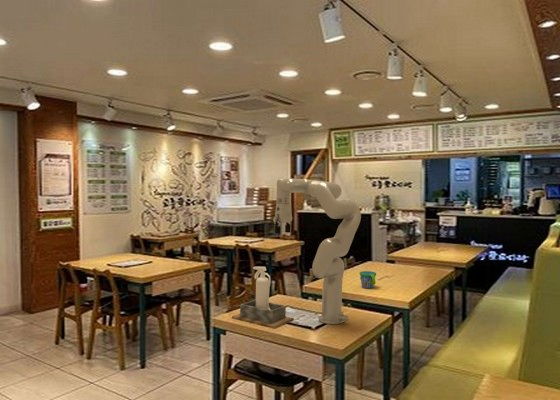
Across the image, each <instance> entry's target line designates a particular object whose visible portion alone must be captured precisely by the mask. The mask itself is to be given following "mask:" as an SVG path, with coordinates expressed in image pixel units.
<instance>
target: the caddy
mask: <svg viewBox="0 0 560 400" xmlns="http://www.w3.org/2000/svg"><path fill="white" fill-rule="evenodd" d="M239 306H240V307H239V310H240V311H239V313H238V314H234V315H232V316H231V319H233V320H237V321H242V322H246V323H251V324H255V325H258V326H263V327H266V328H271V329H278V328H279V327H282V326H284V325H286V324H289V323H291V322H292V321H295V319H294V318H295V317H289V316H286V315H287V314H286V313H287V311H286V310H287V306H286V305H283V304H280V303H274V302H269V308H270V309H271V310H267V309H262V308H257V307H256V299H253V300H250V301H247V302H244V303H241V304H239Z"/></svg>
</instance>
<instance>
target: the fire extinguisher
mask: <svg viewBox="0 0 560 400" xmlns="http://www.w3.org/2000/svg"><path fill="white" fill-rule="evenodd" d="M266 267H267V266H253V267H252V269H253V270H256V272H255V273H254V279H255V300H256V307H257V308H262V309H267V310H271V309H270V308H269V303H270V289H271V288H270V287H271V283H272V282H271V275H269V273H268V272H266V271H267V268H266ZM266 276H267V277H266Z"/></svg>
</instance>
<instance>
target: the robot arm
mask: <svg viewBox="0 0 560 400" xmlns="http://www.w3.org/2000/svg"><path fill="white" fill-rule="evenodd" d="M291 193H292V194H293V193H300V194H301V193H302V194H307V195H310V197H313V198H316V199H317V200H316V201H317V202H318V204H319V205H320V206H321V208H322V209H323V211H324V212H325V213H326V216H328V217H329V218H330V219H333V220H334V219H335V220H337V219H343V220H342V222H340V224H339V225H338V227H337V229H336V233H335V235H334V236H333V237H328V238H325V239H324V240H322V242H320V243H319V246H318V248H317V251H316V254H315V257H314V259H313V261H312V267H311V270H312V273H313V275H314V276H315V277H316V278H317V279H323V280H322V290H321V291H322V293H321V298H322V300H321V315H319V317H318V321H319V322H320V323H323V324H328V325H340V324H344V322H345V321H347V322H348V321H349V315H345V314H344V311H342V307H343V306H342V305H343V304H342V303H343V301H342V300H343V299H342V298H343V297H342V296H343V278H344V273H345V263H344V260H343V259H342V257H344V256H346V255H347V254H348V253H349V250H350V247H351V245H352V243H353V240H354V238H355V234H356V232H357V230H358V228H359V225H360V223H361V219H362V212H361V209H360V206H359V205H358V204H357V203H356V202H354V201H351V200H337V199H338V198H340V197H341V195H342V188H341V186H340V185H339V184H338V183H336V182H332V181H325V180H324V181H323V180H316V179H313V180H312V179H305V178H278V179H277V181H276V204H275V205H276V206H275V212H274V213H275V214H274V215H275V216H274V217H273V218H272V220H273V224H274V234H276V235H280V234H281V224H283V223H284V224H285V225H284V228H285V229H284V233H291V225H292V222H293V215H292V204H291Z"/></svg>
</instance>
